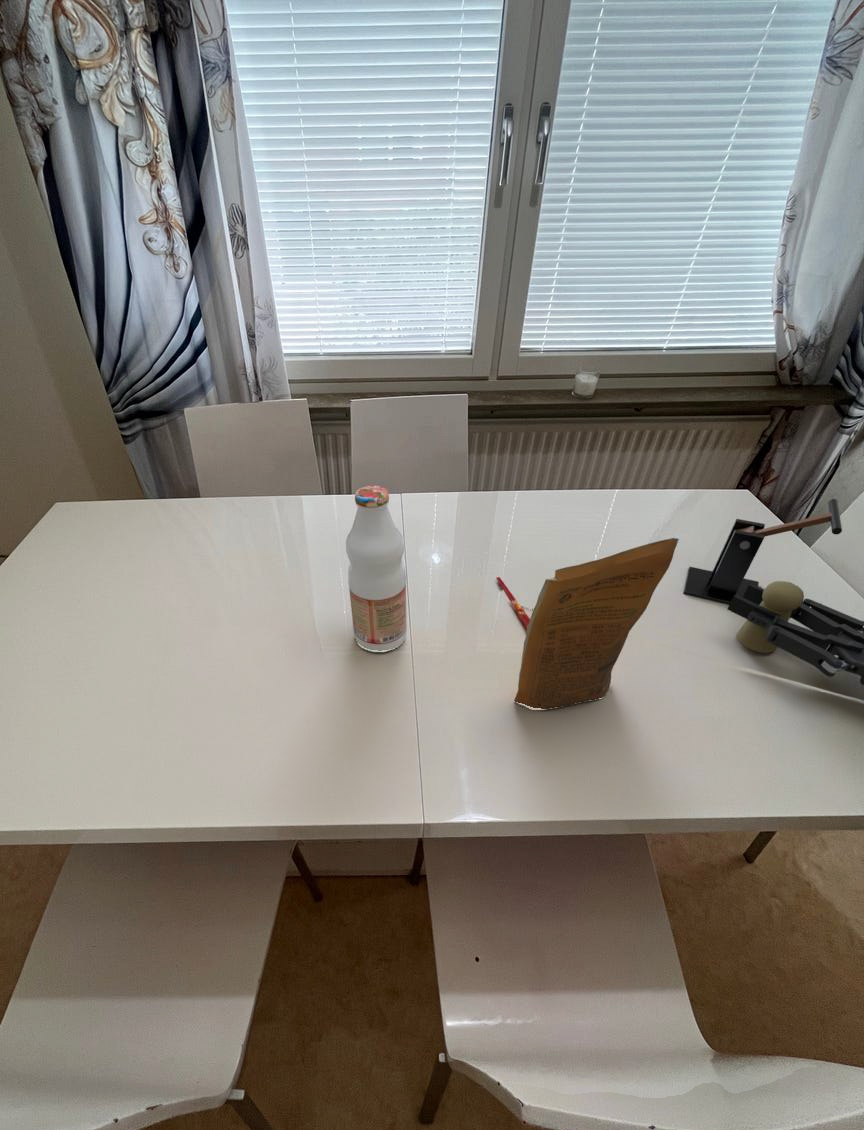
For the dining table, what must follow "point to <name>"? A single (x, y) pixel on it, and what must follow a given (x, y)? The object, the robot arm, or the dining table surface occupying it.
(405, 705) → the dining table surface
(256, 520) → the dining table surface
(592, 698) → the pancake mix bag
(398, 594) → the fruit juice
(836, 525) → the wood and metal hammer
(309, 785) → the dining table surface
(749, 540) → the black lever stand
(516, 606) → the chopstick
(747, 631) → the cork
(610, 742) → the dining table surface
